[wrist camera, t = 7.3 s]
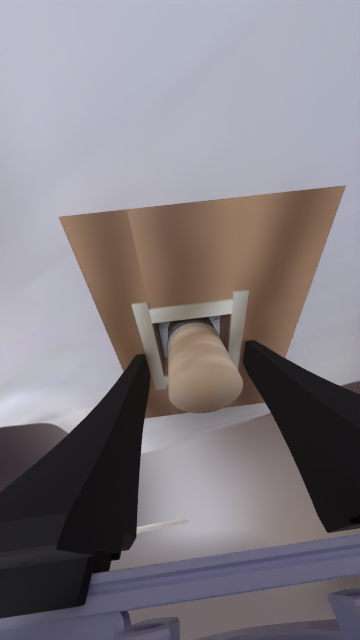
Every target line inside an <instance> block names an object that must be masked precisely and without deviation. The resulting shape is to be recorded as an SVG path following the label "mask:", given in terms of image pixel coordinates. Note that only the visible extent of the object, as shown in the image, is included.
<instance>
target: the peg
mask: <svg viewBox="0 0 360 640" xmlns="http://www.w3.org/2000/svg"><path fill="white" fill-rule="evenodd" d="M167 344H168V382H169V399H170V401H171V403H172V404H173V405H174V406H175V407H177V408H178V409H180V410H183V411H186V412H190V413H207V412H212V411H216V410H219V409H221V408H224V407H226V406H227V405H229V404H230V403H232V402H233V401H234V400H235V399H236V398H237V397H238V396H239V395H240V393H241V391H242V388H243V380H242V377H241V376H240V374H239V372H238V370H237V368H236V366H235V365H234V363H233V361H232V359H231V357H230V356H229V354H228V352H227V350H226V348H225V347H224V345H223V343H222V341H221V339H220V336H219V334H218V332H217V331H216V330H215V328H214V327H213V325H212V323H211V321H210V319H209V318H208V317H202V318H193V319H185V320H177V321H171V322H170V324H169V327H168V343H167Z"/></svg>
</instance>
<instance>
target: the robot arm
mask: <svg viewBox="0 0 360 640" xmlns="http://www.w3.org/2000/svg"><path fill="white" fill-rule="evenodd" d="M242 362H243V364H244V367H245V369H246V371H247V373H248V375H249V377H250V379H251V380H252V382H253V384H254V385H255V387H256V388H257V390H258V392H259V393H260V395H261V397H262V398H263V400H264V401H265V403H266V405H267V406H268V408H269V410H270V411H271V413H272V415H273V417H274V419H275V421H276V423H277V425H278V427H279V429H280V431H281V433H282V435H283V437H284V439H285V441H286V443H287V445H288V447H289V449H290V452H291V454H292V456H293V458H294V461H295V463H296V465H297V467H298V469H299V471H300V474H301V476H302V479H303V481H304V483H305V486H306V488H307V490H308V493H309V495H310V498H311V499H312V502H313V505H314V507H315V510H316V512H317V514H318V517H319V518H320V520H321V522H322V524H323V526H324V527H325V529H326V531H327V532H328V533H331V532H337V531H344V530H351V529H358V528H360V394H357V393H355V392H353V391H350V390H348V389H345V388H343V387H341V386H339V385H336V384H334V383H332V382H330V381H328V380H326V379H323V378H321V377H319V376H317V375H315V374H313V373H311V372H309V371H307V370H305V369H304V368H302V367H300V366H298V365H296V364H294V363H292V362H291V361H289V360H287V359H285V358H284V357H282V356H280V355H279V354H277V353H275V352H274V351H272V350H270V349H269V348H267V347H266V346H264V345H262V344H261V343H259V342H257V341H255V340H250V341H246V343H245V349H244V355H243V361H242ZM149 390H150V370H149V367H148V363H147V360H146V357H145V354H138V355H135V357H134V358H133V360H132V361H131V362H130V364H129V365H128V367H127V368H126V370H125V371H124V372H123V374H122V375H121V376H120V378H119V379H118V381H117V382H116V383H115V384H114V386H113V387H112V388H111V389H110V391H109V392H108V393H107V394H106V396H105V397H104V398H103V399H102V400H101V401H100V403H99V404H98V405H97V406H96V407H95V408H94V409H93V410H92V411H91V412H90V413H89V414H88V415H87V416H86V417H85V419H84V420H82V421H81V422H80V423H79V424H78V425H77V426H76V427H75V428H74V429H73V430H72V431H71V432H70V433H69V434H68V435H67V436H66V437H65V438H64V439H63V440H62V441H61V442H60V443H58V444H57V445H56V446H55V447H54V448H53V449H52V450H51V451H49V452H48V453H47V454H46V455H45V456H44V457H43V458H41V459H40V460H39V461H38V462H37V463H36V464H34V465H33V466H32V467H31V468H30V469H28V470H27V471H26V472H25V473H23V474H22V475H21V476H20V477H19V478H17V479H16V480H15V481H14V482H12V483H11V484H10V485H9V486H8V487H6V488H5V489H4V490H3V491H1V492H0V640H180V621H179V619H178V617H162V618H152V619H148V620H144V621H141V622H138V623H136V624H134V625H131V622H130V616H129V613H128V610H135V609H142V608H148V607H155V606H161V605H168V604H174V603H181V602H187V601H194V600H200V599H207V598H213V597H219V596H226V595H233V594H239V593H246V592H252V591H258V590H265V589H271V588H278V587H285V586H291V585H297V584H304V583H310V582H317V581H324V580H330V579H337V578H343V577H350V576H356V575H360V534H355V535H349V536H342V537H335V538H328V539H322V540H315V541H309V542H302V543H296V544H288V545H282V546H276V547H268V548H261V549H255V550H248V551H242V552H235V553H229V554H222V555H215V556H208V557H201V558H194V559H188V560H182V561H174V562H168V563H161V564H154V565H148V566H141V567H134V568H127V569H121V570H114V571H109V569H110V564H111V561H112V560H119V559H120V555H121V551H125V550H129V549H130V547H131V546H132V544H133V542H134V541H135V538H136V530H137V505H138V487H139V486H138V485H139V470H140V469H139V468H140V457H141V444H142V433H143V425H144V419H145V413H146V407H147V402H148V396H149ZM328 600H329V603H330V605H331V607H332V609H333V612H334V614H335V616H336V618H337V619H327V620H316V621H304V622H292V623H281V624H272V625H263V626H255V627H248V628H242V629H237V630H232V631H226V632H222V633H218V634H213V635H209V636H205V637H200V638H197V639H192V640H360V588H351V589H344V590H340V591H337V592H333V593H330V594H328Z"/></svg>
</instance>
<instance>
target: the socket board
mask: <svg viewBox="0 0 360 640" xmlns="http://www.w3.org/2000/svg"><path fill="white" fill-rule="evenodd" d="M345 187H346V186H337V187H328V188H319V189H310V190H301V191H291V192H282V193H273V194H264V195H255V196H246V197H237V198H227V199H218V200H209V201H200V202H191V203H182V204H173V205H164V206H154V207H145V208H136V209H127V210H118V211H109V212H100V213H90V214H81V215H72V216H63V217H59V219H60V222H61V224H62V226H63V229H64V231H65V233H66V236H67V238H68V241H69V243H70V245H71V248H72V250H73V252H74V255H75V257H76V259H77V262H78V264H79V267H80V269H81V271H82V274H83V276H84V278H85V281H86V283H87V286H88V288H89V290H90V293H91V295H92V297H93V300H94V302H95V305H96V307H97V309H98V312H99V314H100V316H101V319H102V321H103V324H104V326H105V328H106V331H107V333H108V335H109V338H110V340H111V343H112V345H113V347H114V350H115V352H116V354H117V357H118V359H119V362H120V364H121V366H122V369H123V371H125V370H126V368H127V367H128V365H129V364H130V362H131V361H132V360H133V358H134V357H135V355H138V354H145V357H146V360H147V363H148V367H149V370H150V390H149V396H148V402H147V407H146V413H145V418H151V417H158V416H166V415H173V414H181V413H188V412H186V411H183V410H180V409H178V408H177V407H175V406H174V405H173V404H172V403H171V401H170V399H169V382H168V359H165V358H164V353H163V348H162V343H161V338H160V333H159V329H158V324H157V323H161V322H169V321H177V320H185V319H193V318H202V317H210V316H218V315H221V319H220V339H221V341H222V343H223V345H224V347H225V348H226V350H227V352H228V354H229V356H230V357H231V359H232V361H233V363H234V365H235V366H236V368H237V370H238V372H239V374H240V376H241V377H242V380H243V388H242V391H241V393H240V395H239V396H238V397H237V398H236V399H235V400H234V401H233V402H232V403H230V404H229V405H227V406H226V407H234V406H241V405H249V404H256V403H264V402H265V401H264V400H263V398H262V397H261V395H260V393H259V392H258V390H257V388H256V387H255V385H254V384H253V382H252V380H251V379H250V377H249V375H248V373H247V371H246V369H245V367H244V364H243V362H242V361H243V355H244V349H245V343H246V341H250V340H255V341H257V342H259V343H261V344H262V345H264V346H266V347H267V348H269V349H270V350H272V351H274V352H275V353H277V354H279V355H280V356H282V357H284V358H285V356H286V354H287V351H288V348H289V345H290V342H291V339H292V337H293V334H294V331H295V328H296V325H297V323H298V320H299V317H300V314H301V311H302V308H303V306H304V303H305V300H306V297H307V294H308V291H309V289H310V286H311V283H312V280H313V277H314V274H315V272H316V269H317V266H318V263H319V260H320V257H321V255H322V252H323V249H324V246H325V243H326V241H327V238H328V235H329V232H330V229H331V226H332V224H333V221H334V218H335V215H336V212H337V209H338V207H339V204H340V201H341V198H342V195H343V192H344V190H345ZM226 407H224V408H226Z"/></svg>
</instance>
